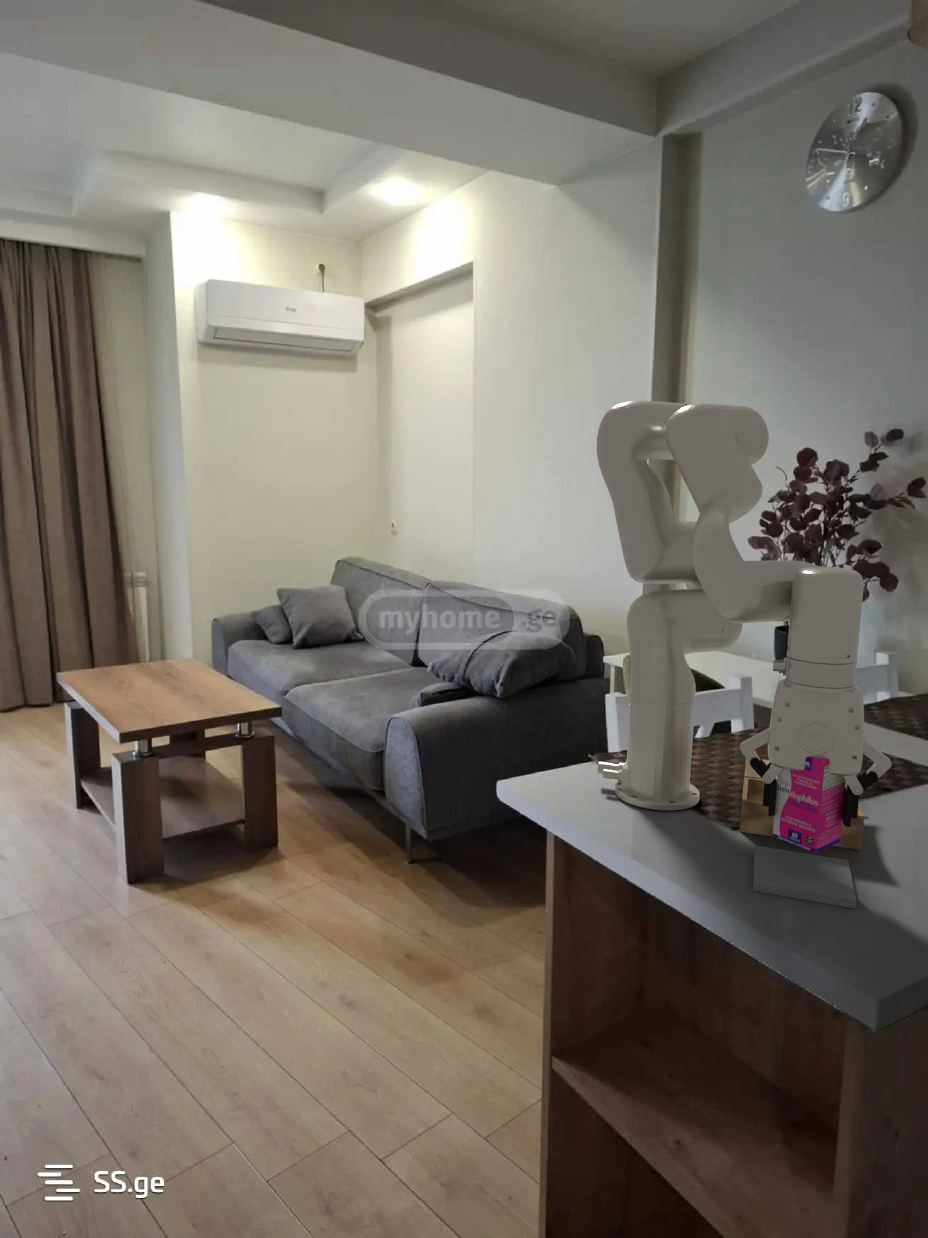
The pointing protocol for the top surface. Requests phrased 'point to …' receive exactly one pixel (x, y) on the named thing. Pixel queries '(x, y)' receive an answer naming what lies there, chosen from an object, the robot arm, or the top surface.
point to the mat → (803, 876)
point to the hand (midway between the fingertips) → (808, 816)
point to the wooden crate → (762, 824)
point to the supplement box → (809, 806)
